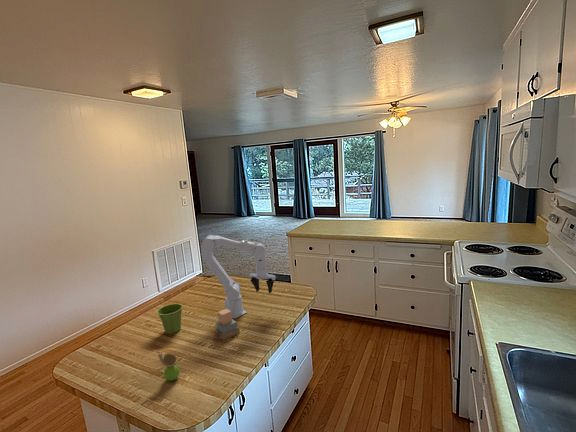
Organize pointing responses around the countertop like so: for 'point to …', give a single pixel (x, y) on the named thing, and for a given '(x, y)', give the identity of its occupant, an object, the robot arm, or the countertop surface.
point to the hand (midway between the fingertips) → (264, 291)
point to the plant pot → (171, 317)
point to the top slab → (226, 326)
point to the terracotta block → (224, 316)
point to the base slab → (228, 334)
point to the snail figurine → (169, 366)
